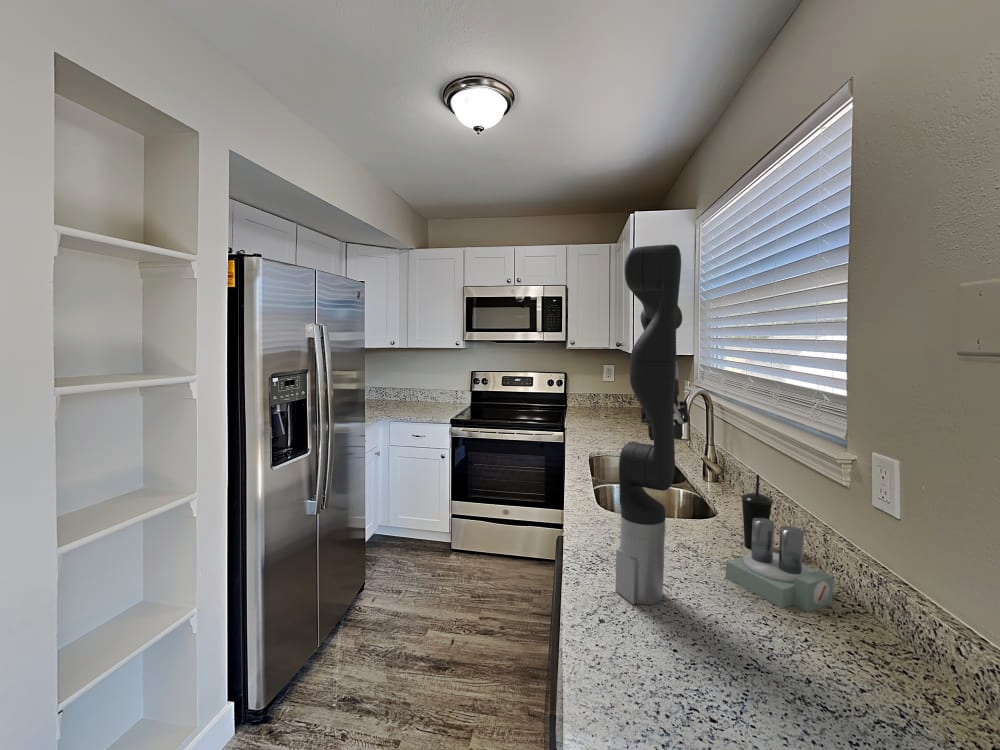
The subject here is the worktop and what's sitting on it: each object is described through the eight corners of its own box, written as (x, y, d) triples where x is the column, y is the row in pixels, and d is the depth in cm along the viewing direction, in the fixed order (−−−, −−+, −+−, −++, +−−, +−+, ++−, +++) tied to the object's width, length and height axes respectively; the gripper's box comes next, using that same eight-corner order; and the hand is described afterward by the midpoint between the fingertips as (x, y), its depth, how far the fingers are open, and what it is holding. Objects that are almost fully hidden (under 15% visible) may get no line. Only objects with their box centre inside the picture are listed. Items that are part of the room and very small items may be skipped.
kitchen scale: (798, 617, 94) (800, 588, 94) (725, 577, 110) (726, 552, 110) (844, 601, 100) (846, 574, 100) (769, 566, 116) (770, 542, 116)
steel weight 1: (764, 564, 106) (765, 525, 105) (746, 556, 110) (748, 519, 109) (777, 561, 108) (778, 523, 107) (759, 553, 112) (761, 516, 111)
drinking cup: (768, 556, 121) (772, 480, 120) (736, 548, 126) (739, 475, 125) (772, 546, 128) (776, 474, 126) (741, 539, 132) (744, 469, 131)
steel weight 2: (793, 575, 101) (795, 535, 100) (773, 566, 105) (775, 527, 104) (806, 571, 103) (808, 532, 102) (787, 563, 107) (788, 524, 106)
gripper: (653, 377, 118) (655, 441, 117) (694, 378, 124) (697, 439, 123) (633, 379, 125) (635, 440, 124) (672, 380, 131) (675, 438, 130)
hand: (666, 439), depth 123 cm, fingers open, 8 cm apart
